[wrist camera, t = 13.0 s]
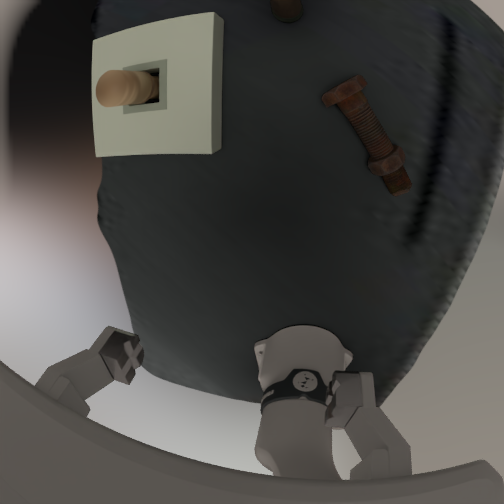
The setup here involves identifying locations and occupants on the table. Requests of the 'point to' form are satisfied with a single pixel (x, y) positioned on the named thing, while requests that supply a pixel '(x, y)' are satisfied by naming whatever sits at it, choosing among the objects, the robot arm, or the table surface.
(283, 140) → the table surface
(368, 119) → the bolt
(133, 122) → the board
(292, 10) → the grenade
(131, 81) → the peg
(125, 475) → the robot arm
